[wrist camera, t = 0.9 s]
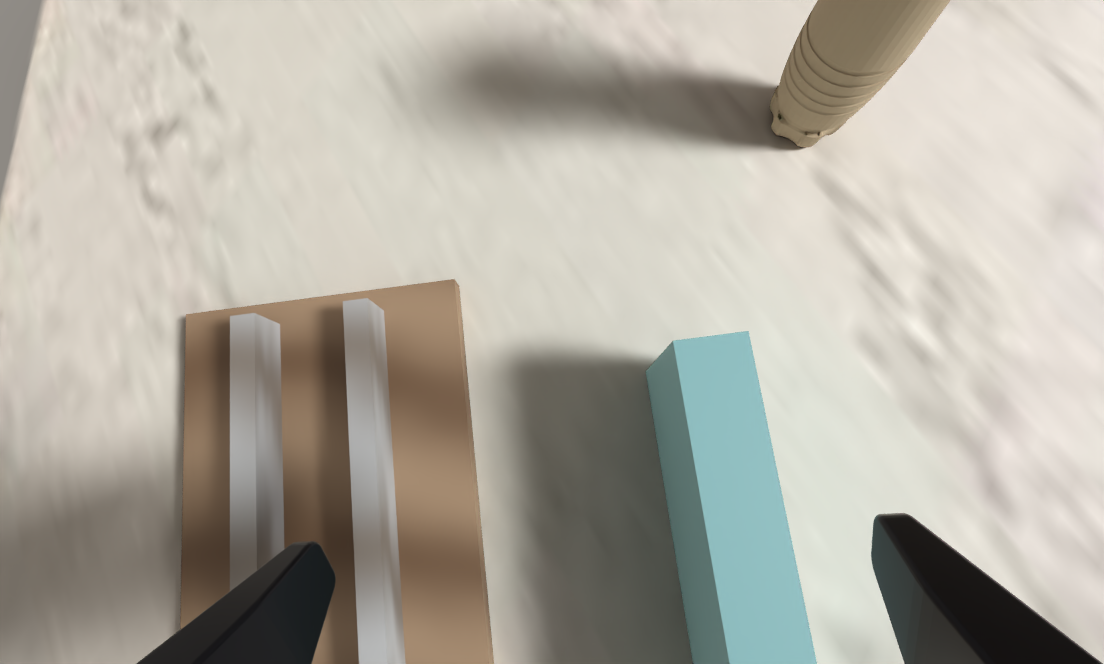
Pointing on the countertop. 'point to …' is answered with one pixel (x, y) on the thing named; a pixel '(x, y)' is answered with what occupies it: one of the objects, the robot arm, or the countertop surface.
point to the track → (340, 467)
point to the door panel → (726, 506)
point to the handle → (845, 62)
